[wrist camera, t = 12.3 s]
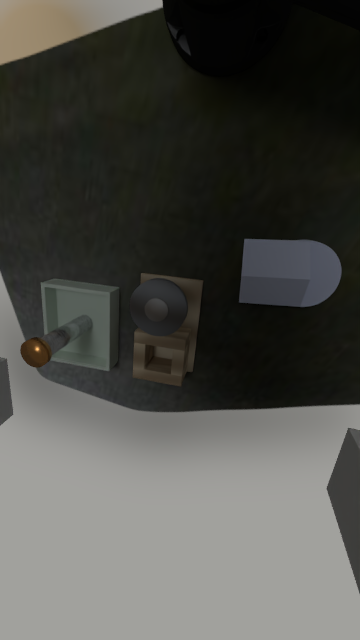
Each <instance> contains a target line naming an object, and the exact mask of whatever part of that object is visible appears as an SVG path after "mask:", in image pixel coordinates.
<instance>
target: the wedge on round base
mask: <svg viewBox="0 0 360 640" xmlns="http://www.w3.org/2000/svg"><path fill="white" fill-rule="evenodd" d="M340 278H341V264H340V261H339V258H338V256H337V255H336V253H335V252H334V251H333V250H332V249H331V248H330V247H328V246H326V245H325V244H322V243H320V242H316V241H312V240H296V241H295V240H264V239H244V251H243V262H242V273H241V285H240V296H239V303H253V304H267V305H282V306H296V307H308V306H313V305H316V304H319V303H321V302H322V301H324V300H326V299H327V298H328V297H329V296H330V295H331V294H332V293H333V292H334V291H335V289H336V288H337V286H338V284H339V281H340Z"/></svg>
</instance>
